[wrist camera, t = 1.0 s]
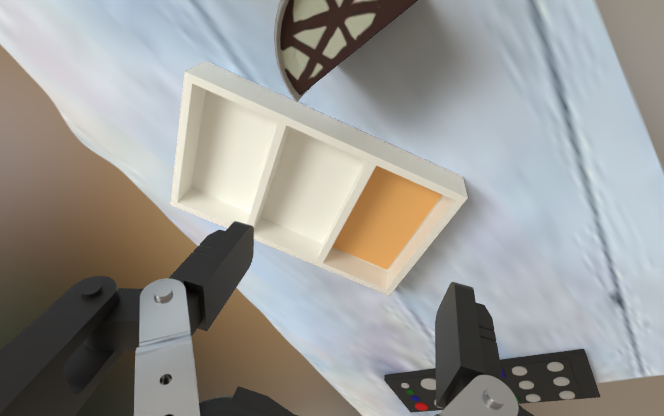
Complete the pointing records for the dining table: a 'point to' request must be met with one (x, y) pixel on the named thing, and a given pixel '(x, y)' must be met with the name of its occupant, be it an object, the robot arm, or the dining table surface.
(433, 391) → the remote control
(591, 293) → the dining table surface
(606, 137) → the dining table surface
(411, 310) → the dining table surface
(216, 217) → the cream compartment tray
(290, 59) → the food container
